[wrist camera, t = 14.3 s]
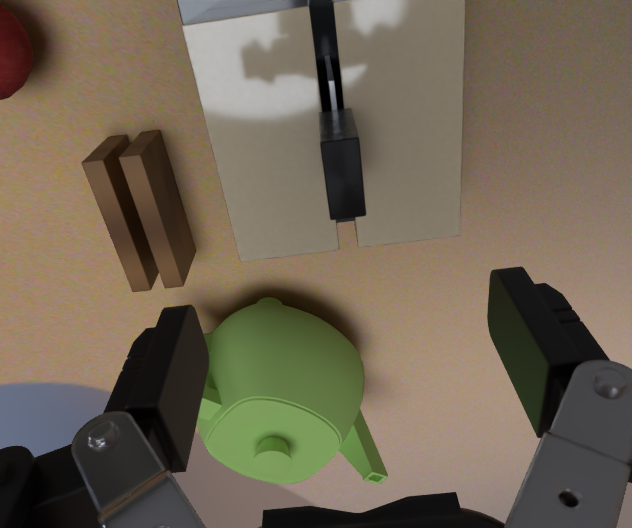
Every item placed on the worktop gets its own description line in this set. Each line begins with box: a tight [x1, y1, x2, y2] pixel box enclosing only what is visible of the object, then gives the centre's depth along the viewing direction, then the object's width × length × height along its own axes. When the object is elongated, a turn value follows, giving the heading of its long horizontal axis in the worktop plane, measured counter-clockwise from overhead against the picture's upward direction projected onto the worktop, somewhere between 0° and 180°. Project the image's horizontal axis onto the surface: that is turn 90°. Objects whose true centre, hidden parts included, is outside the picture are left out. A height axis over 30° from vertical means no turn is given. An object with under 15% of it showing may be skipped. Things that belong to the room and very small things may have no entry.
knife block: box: [82, 130, 196, 292], centre depth 36 cm, size 10×4×5 cm, turn 7°
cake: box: [177, 0, 465, 262], centre depth 32 cm, size 17×17×8 cm
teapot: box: [196, 297, 388, 485], centre depth 41 cm, size 20×13×13 cm
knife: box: [318, 55, 366, 220], centre depth 29 cm, size 7×2×12 cm, turn 8°
